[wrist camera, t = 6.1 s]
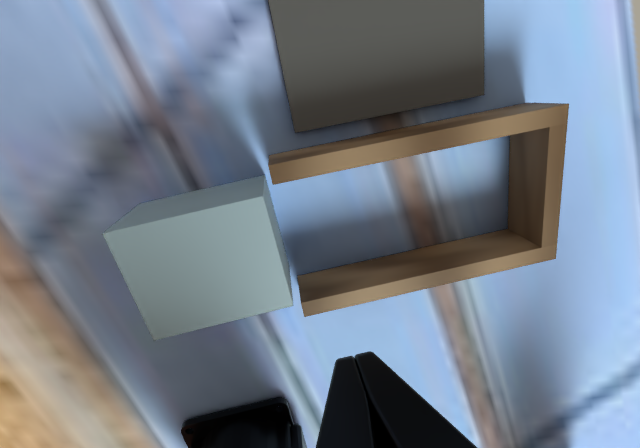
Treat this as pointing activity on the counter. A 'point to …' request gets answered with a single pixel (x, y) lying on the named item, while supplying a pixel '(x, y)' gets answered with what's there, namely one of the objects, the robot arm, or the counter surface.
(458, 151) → the counter surface
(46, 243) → the counter surface
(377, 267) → the frame
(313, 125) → the mat
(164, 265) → the blank block
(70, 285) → the counter surface
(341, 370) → the robot arm
